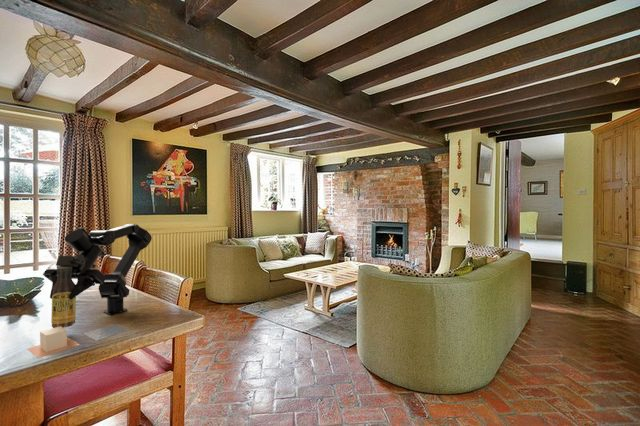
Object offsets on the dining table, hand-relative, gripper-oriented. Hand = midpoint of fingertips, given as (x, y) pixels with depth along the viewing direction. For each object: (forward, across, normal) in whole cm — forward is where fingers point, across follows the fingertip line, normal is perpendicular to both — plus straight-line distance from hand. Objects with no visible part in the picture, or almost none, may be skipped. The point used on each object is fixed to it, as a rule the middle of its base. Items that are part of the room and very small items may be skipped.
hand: (60, 298), depth 102 cm
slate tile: (+6, +12, +12) cm, 19 cm away
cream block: (+14, +4, +4) cm, 15 cm away
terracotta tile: (+14, +4, +4) cm, 16 cm away
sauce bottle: (+6, 0, +8) cm, 10 cm away
